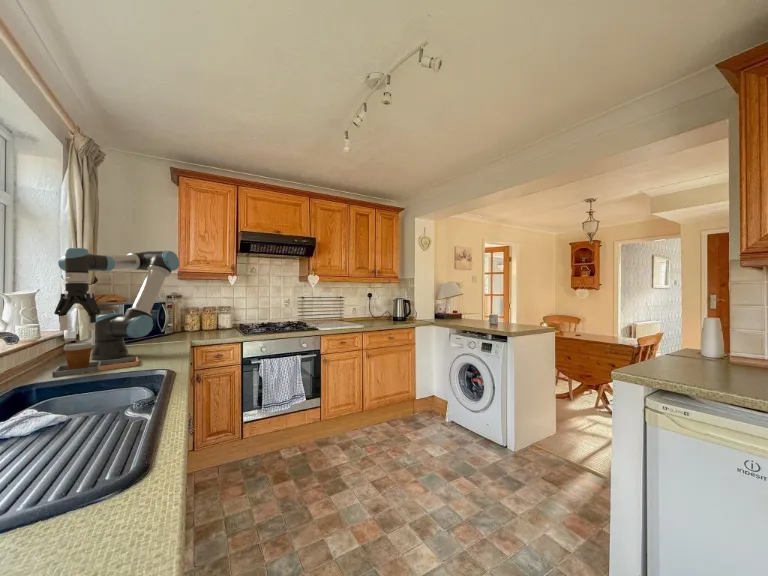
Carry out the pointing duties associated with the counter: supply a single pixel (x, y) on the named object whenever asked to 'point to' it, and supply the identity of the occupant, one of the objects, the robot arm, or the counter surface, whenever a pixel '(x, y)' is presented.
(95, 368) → the cup carrier
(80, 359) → the disposable coffee cup
